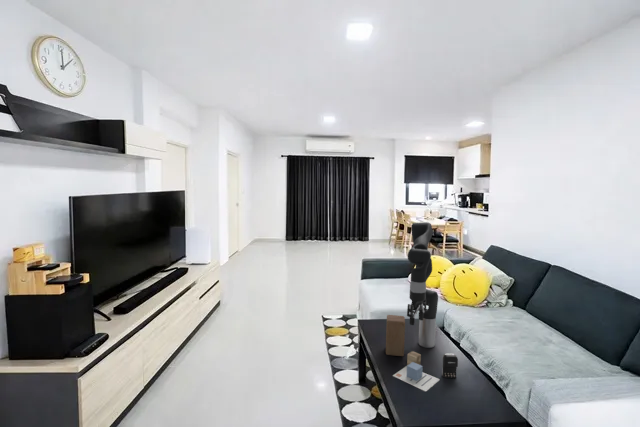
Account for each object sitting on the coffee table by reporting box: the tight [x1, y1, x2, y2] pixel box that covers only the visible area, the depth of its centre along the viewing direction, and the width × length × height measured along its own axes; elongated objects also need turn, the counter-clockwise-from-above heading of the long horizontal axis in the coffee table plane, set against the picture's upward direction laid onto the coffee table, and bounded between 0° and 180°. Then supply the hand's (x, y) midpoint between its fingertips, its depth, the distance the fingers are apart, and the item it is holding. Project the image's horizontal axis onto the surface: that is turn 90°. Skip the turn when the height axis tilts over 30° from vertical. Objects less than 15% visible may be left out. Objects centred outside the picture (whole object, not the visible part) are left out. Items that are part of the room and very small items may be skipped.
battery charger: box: [441, 353, 459, 379], centre depth 171 cm, size 7×4×11 cm, turn 88°
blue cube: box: [406, 362, 424, 381], centre depth 171 cm, size 6×6×6 cm
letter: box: [392, 365, 440, 392], centre depth 170 cm, size 14×18×1 cm
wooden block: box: [385, 314, 406, 357], centre depth 196 cm, size 10×10×20 cm
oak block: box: [406, 350, 422, 366], centre depth 182 cm, size 5×5×6 cm
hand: (416, 322), depth 169 cm, fingers open, 8 cm apart
